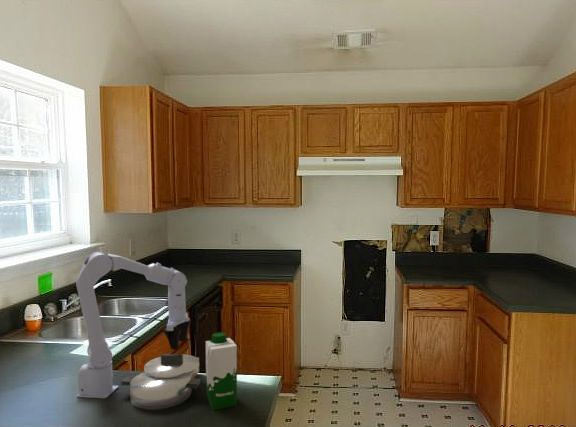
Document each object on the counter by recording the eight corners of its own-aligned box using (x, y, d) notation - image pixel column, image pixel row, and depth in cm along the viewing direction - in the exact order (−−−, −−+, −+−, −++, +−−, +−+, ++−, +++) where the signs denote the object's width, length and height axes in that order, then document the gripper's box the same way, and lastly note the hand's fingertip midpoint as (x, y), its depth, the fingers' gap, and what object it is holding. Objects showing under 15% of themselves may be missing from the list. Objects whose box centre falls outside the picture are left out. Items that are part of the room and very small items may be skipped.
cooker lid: (134, 377, 133) (134, 364, 133) (157, 356, 151) (157, 345, 150) (188, 379, 131) (188, 366, 131) (206, 357, 149) (205, 346, 148)
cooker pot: (109, 407, 124) (109, 390, 124) (150, 369, 152) (149, 356, 152) (189, 411, 122) (188, 394, 122) (215, 372, 149) (215, 358, 149)
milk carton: (231, 393, 133) (231, 330, 132) (240, 406, 124) (239, 338, 124) (203, 399, 129) (202, 334, 129) (210, 412, 121) (209, 343, 120)
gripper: (180, 311, 138) (182, 353, 139) (195, 300, 153) (196, 338, 153) (159, 311, 139) (161, 352, 140) (176, 300, 153) (177, 337, 154)
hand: (178, 345), depth 146 cm, fingers open, 7 cm apart
